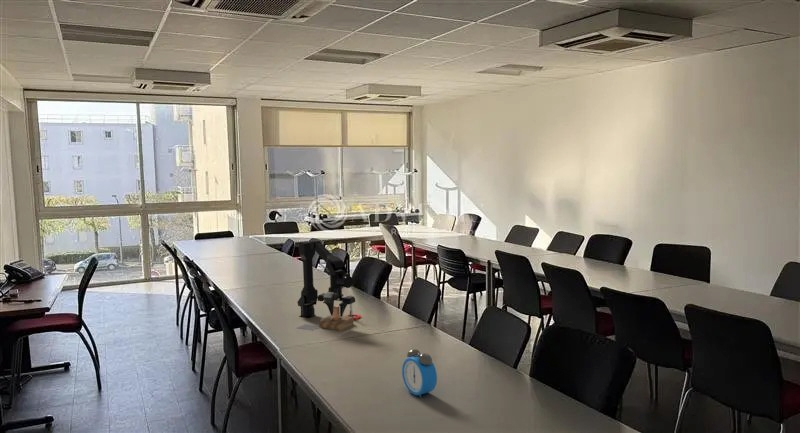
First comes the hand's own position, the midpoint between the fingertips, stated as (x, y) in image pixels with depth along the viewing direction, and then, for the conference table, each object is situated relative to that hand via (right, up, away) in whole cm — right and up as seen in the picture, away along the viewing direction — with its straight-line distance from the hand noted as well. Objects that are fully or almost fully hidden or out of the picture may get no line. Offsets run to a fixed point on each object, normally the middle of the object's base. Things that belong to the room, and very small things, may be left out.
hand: (336, 315), depth 285 cm
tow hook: (+7, -4, +16) cm, 18 cm away
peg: (0, -5, 0) cm, 5 cm away
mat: (-13, -6, -2) cm, 15 cm away
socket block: (0, -5, +1) cm, 5 cm away
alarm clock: (+38, -13, -82) cm, 92 cm away
